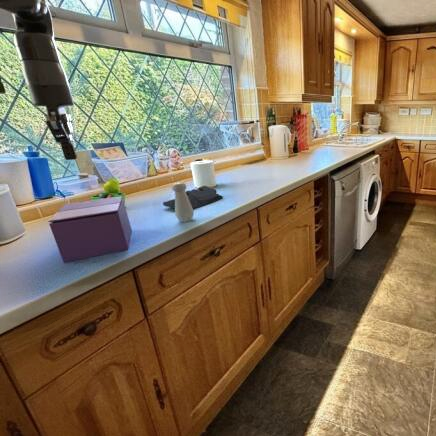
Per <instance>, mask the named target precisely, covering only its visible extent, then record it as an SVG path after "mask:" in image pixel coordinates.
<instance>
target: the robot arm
mask: <svg viewBox="0 0 436 436" xmlns="http://www.w3.org/2000/svg"><path fill="white" fill-rule="evenodd" d="M0 10H2V11H5V12H8V13H10V14H11V16H12V18H13V22H14V26H15V30H16V31H14V32H13V34H12V40H13V44H14V47H15V50H16V53H17V57H18V59H19V63H20V67H21V73H22V76H23V79H24V82H25V85H26V88H27V91H28V94H29V97H30V100H31V104H32V105H33V106H35V107H45V110H46V114H45V115H44V116H45V119H46V120H45V124H46V126H47V128H48V129H49V132H50V133H51V134H52V136H53V138H54V141H55V142H56V143H58V145H60V147H61V151H62V153H63V156H64V157H63V158H64V159H65V160H66V161H71V160H76V159H78V155H77V151H76V148H75V145H74V143H75V139H76V137H75V133H74V127H73V126H74V125H73V120H72V117H71V115H70V114H69V113H67V111H66V107H72V106H74V105H75V101H74V97H73V95H72V90H71V88H70V84H69V80H68V77H67V74H66V71H65V69H64V67H63V65H62V64H63V63H62V61H61V57H60V54H59V51H58V48H57V45H56V43H55V42H56V41H55V33H54V25H53V17H52V14H51V11H50V8H49V5H48V3H47V1H46V0H0Z"/></svg>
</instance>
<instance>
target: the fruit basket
mask: <svg viewBox="0 0 436 436" xmlns="http://www.w3.org/2000/svg"><path fill="white" fill-rule="evenodd" d="M102 188H103V190H104V191H101V192H100V193H97V194H93V195H91V196H90V198H91V200H98V199H105V198H112V197H120V196H122V199H123V200H124V204H125V203H126V193H125V192H124V193H123V192H120V191H121V187H120V182H119V181H118V180H117V177H115V178H113V177H110V178H109V179H108V181H107V182H106V183H105V184H103V186H102ZM125 205H126V204H125Z"/></svg>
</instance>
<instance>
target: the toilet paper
mask: <svg viewBox="0 0 436 436" xmlns="http://www.w3.org/2000/svg"><path fill="white" fill-rule="evenodd" d="M190 169H191V174H192V179H193V186H194V188H195V187H197V188H196V189H198V188H200V187H202V186H207V187H210V188H213V187H216V186H217V185H218V184H217V178H216V172H215V166H214V161H213V160H197V161H196V160H195V161H192V162H190Z"/></svg>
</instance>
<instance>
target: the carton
mask: <svg viewBox="0 0 436 436" xmlns="http://www.w3.org/2000/svg"><path fill="white" fill-rule="evenodd" d="M116 203H120V206H119V209H118V211H117V212H112V213H106V214H99V215H93V216H86V217H80V218H74V219H67V220H61V221H54V222H49V224H48V225H49V228H50V230H51V233H52V235H53V238H54V241H55V244H56V246H57V249H58V251H59V254H60V257H61V259H62V262H63V264H66V263H69V262H70V263H71V262H75V261H80V260H85V259H89V258H94V257H99V256H103V255H110V254H113V253H118V252H124V251H129V249H130V245H131V244H130V243H131V236H132V225H131V222H130V219H129V215H128V212H127V211H128V210H127V208H126V204H124V200H123V199H122V196H120V197H112V198H105V199H98V200H93V199H91V200H84V201H77V202H76V201H75V202H69V203H64V204H63V205H62V206H61V207H60V208H59V209H58V210H57V212H61V211H67V210H74V209H81V208H88V207H95V206H102V205H109V204H116Z"/></svg>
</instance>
